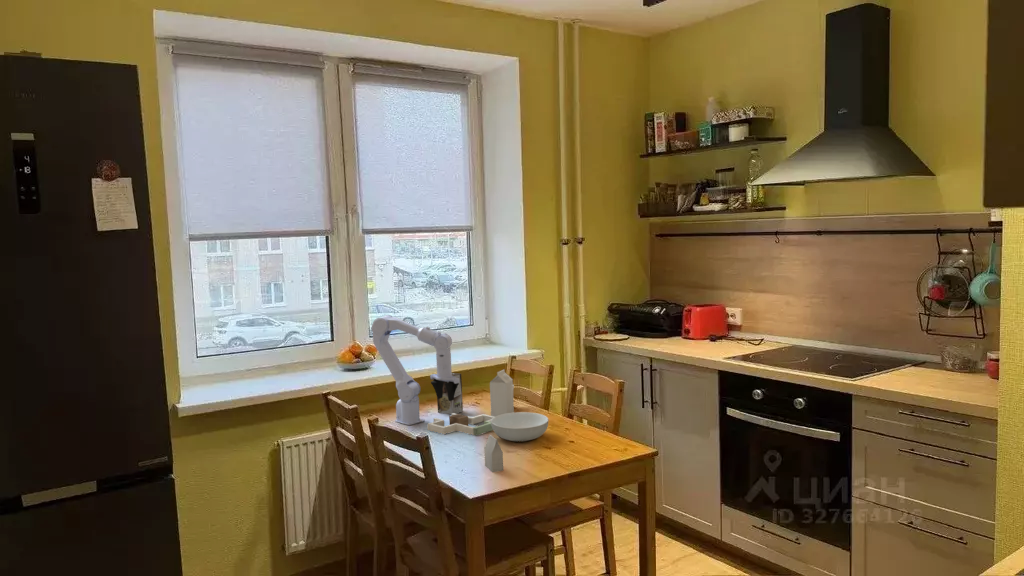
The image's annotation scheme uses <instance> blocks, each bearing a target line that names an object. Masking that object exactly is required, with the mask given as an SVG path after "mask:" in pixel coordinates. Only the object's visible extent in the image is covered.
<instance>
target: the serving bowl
mask: <svg viewBox="0 0 1024 576" xmlns="http://www.w3.org/2000/svg"><path fill="white" fill-rule="evenodd" d="M549 422H550V421H549V417H548V416H546V415H544V414H542V413H537V412H528V411H519V412H517V411H516V412H515V411H514V413H507V414H502V415H498V416H496V417H494V418H493V419H492V420H491V425H492V428H493V430H492V431H493V432H494V434H495V435H496V436H498V437H499V438H501V439H503V440H507V441H512V442H518V441H519V443H520V441H521V442H527V441H531V440H535V439H538V438H540V437H542V436H543V435H544V434H545V433H546V431H547V429H548V426H549Z"/></svg>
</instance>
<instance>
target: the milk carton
mask: <svg viewBox="0 0 1024 576" xmlns="http://www.w3.org/2000/svg"><path fill="white" fill-rule="evenodd" d="M496 374H497V375H496V376H495V377H493V378H492V379H491V380H490V382H489V391H490V392H489V395H490V396H489V398H490V416H494V417H496V416H498V415H502V414H507V413H515V409H514V406H515V405H514V402H515V401H514V390H513V385H514V382H513V381H514V379H513V378H512V376H510V375H509V374H507V373H506V371H505V369H502V370H499V371H497V372H496Z"/></svg>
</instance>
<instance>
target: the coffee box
mask: <svg viewBox="0 0 1024 576" xmlns="http://www.w3.org/2000/svg"><path fill="white" fill-rule="evenodd" d="M452 376H454V377H457V378H459V384H458V386H457V388H456V391H455V395H454V400H452V401H449V400H448V393H447V389H446V386H445V384H446V383H449V382H446V381H444V384H443V397H442V398H440V399H438V398H437V397H436V398H437V399H436V401H437V413H439V414H447V415H451V414H452V413H455V414H460V413H462V411H463V412H464V408H463V407H464V405H463V383H462V380H463V379H462V373H457V372H452ZM459 412H460V413H459Z"/></svg>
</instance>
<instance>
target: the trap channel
mask: <svg viewBox="0 0 1024 576" xmlns="http://www.w3.org/2000/svg"><path fill="white" fill-rule="evenodd" d="M452 415H455V413H452V414H450V416H452ZM493 418H494V416H491V414H490V415H489V414H485V413H482V414H478V415H476V416H473V417H472V416H468V426H466V425H462V424H458V423H454V424H451V425H450V424H449V425H445V419H441V418H439V417H438V418H437V417H435V418H433V421H432V422H428V423H427V424H426V425H427V426H426V427H427V431H429V430H430V432H433V431H434V432H433V433H436V432H438V433H437V434H440V433H442V434H441V435H446V433H447V434H450V433H452V432H453V433H454V432H456V431H457V432H459V431H460V433H463V432H464V433H463V434H467V433H468V435H471V434H472V435H471V436H474V437H475V436H479V435H482V433H483V434H485V433H486V434H487V433H489V432H492V431H493V428H492V425H491V420H492V419H493ZM473 424H474V425H473ZM470 425H473V426H470ZM477 425H478V426H477Z"/></svg>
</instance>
